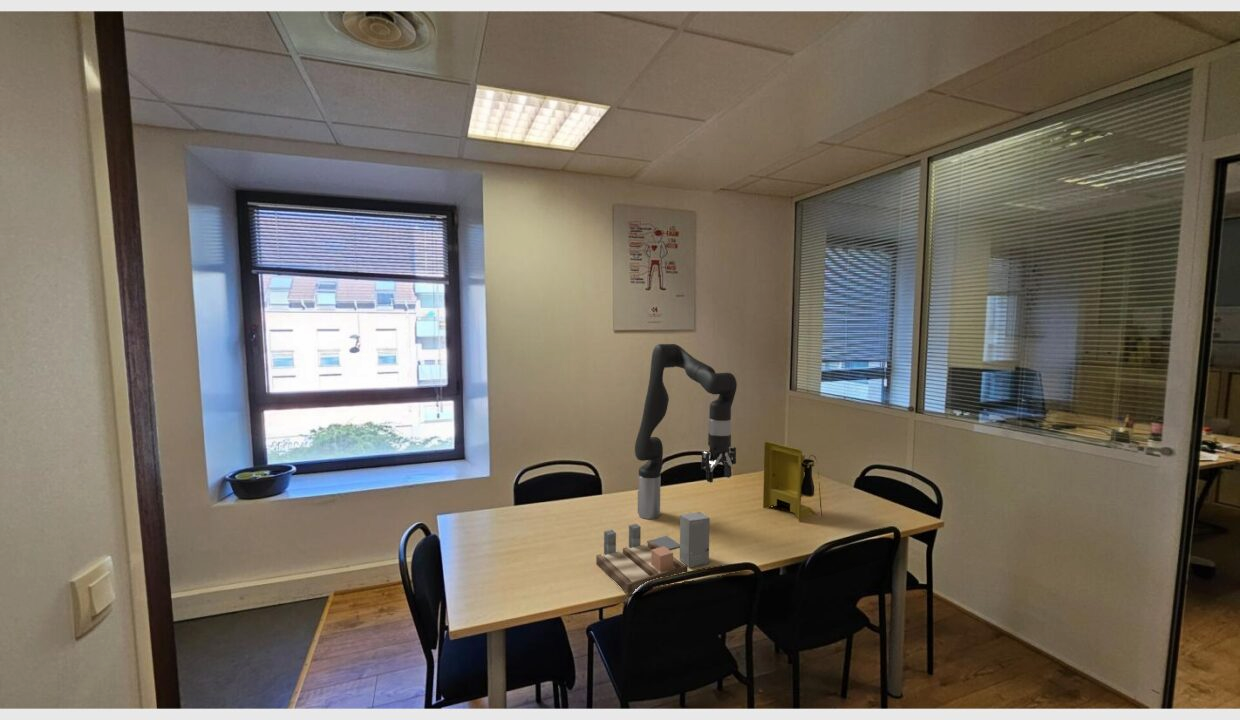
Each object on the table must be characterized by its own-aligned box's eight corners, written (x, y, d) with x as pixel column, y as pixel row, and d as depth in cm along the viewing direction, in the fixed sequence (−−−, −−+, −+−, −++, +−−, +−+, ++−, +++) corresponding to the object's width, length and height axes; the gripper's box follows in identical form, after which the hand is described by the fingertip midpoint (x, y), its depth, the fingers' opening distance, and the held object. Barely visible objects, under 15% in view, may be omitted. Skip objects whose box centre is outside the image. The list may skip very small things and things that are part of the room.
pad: (646, 542, 169) (646, 541, 169) (666, 536, 173) (666, 535, 173) (660, 552, 161) (660, 551, 161) (681, 546, 165) (681, 545, 165)
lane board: (596, 564, 153) (596, 554, 153) (651, 548, 164) (651, 539, 164) (628, 595, 135) (628, 584, 134) (687, 576, 146) (687, 565, 145)
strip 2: (624, 548, 162) (624, 526, 161) (640, 544, 165) (640, 522, 164) (660, 578, 142) (661, 553, 142) (677, 572, 145) (677, 548, 145)
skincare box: (689, 568, 150) (689, 521, 149) (678, 558, 157) (678, 513, 156) (710, 563, 154) (711, 517, 153) (698, 553, 160) (699, 509, 159)
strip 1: (599, 555, 157) (599, 532, 156) (616, 550, 160) (616, 528, 159) (633, 587, 137) (633, 561, 137) (651, 581, 140) (651, 556, 140)
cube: (651, 564, 148) (651, 549, 148) (663, 560, 151) (664, 546, 150) (660, 571, 144) (660, 556, 143) (672, 567, 146) (673, 552, 146)
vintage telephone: (836, 521, 188) (839, 449, 186) (817, 529, 180) (819, 454, 178) (772, 497, 214) (774, 434, 212) (753, 504, 206) (754, 438, 204)
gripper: (725, 427, 160) (724, 472, 161) (696, 432, 152) (695, 480, 153) (742, 431, 153) (741, 478, 155) (712, 437, 145) (711, 486, 147)
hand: (718, 479), depth 154 cm, fingers open, 8 cm apart
